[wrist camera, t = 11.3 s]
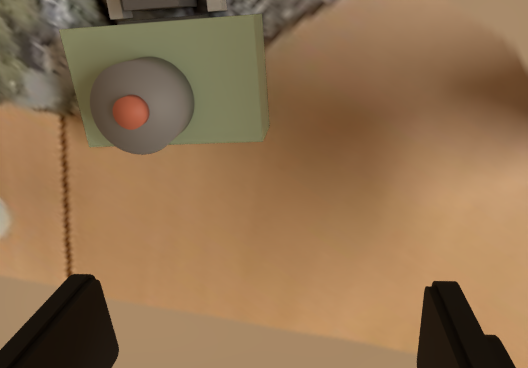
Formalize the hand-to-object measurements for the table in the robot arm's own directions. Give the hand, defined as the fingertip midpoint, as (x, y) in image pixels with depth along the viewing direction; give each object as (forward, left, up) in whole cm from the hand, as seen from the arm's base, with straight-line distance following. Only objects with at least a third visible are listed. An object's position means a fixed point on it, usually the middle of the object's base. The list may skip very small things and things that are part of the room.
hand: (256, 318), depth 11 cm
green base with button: (+11, -6, -28) cm, 31 cm away
